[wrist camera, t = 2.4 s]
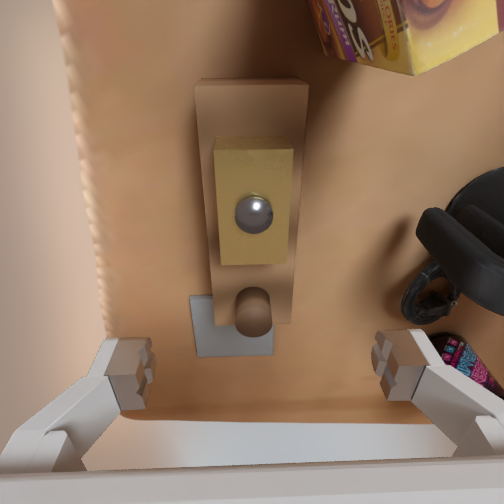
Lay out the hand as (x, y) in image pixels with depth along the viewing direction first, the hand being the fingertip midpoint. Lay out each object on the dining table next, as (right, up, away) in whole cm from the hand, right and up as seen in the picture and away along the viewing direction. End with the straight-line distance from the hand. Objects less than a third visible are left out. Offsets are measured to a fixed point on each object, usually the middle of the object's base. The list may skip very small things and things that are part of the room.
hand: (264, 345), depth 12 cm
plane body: (-1, +8, +18) cm, 19 cm away
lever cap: (0, +8, +12) cm, 14 cm away
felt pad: (-2, -5, +26) cm, 26 cm away
